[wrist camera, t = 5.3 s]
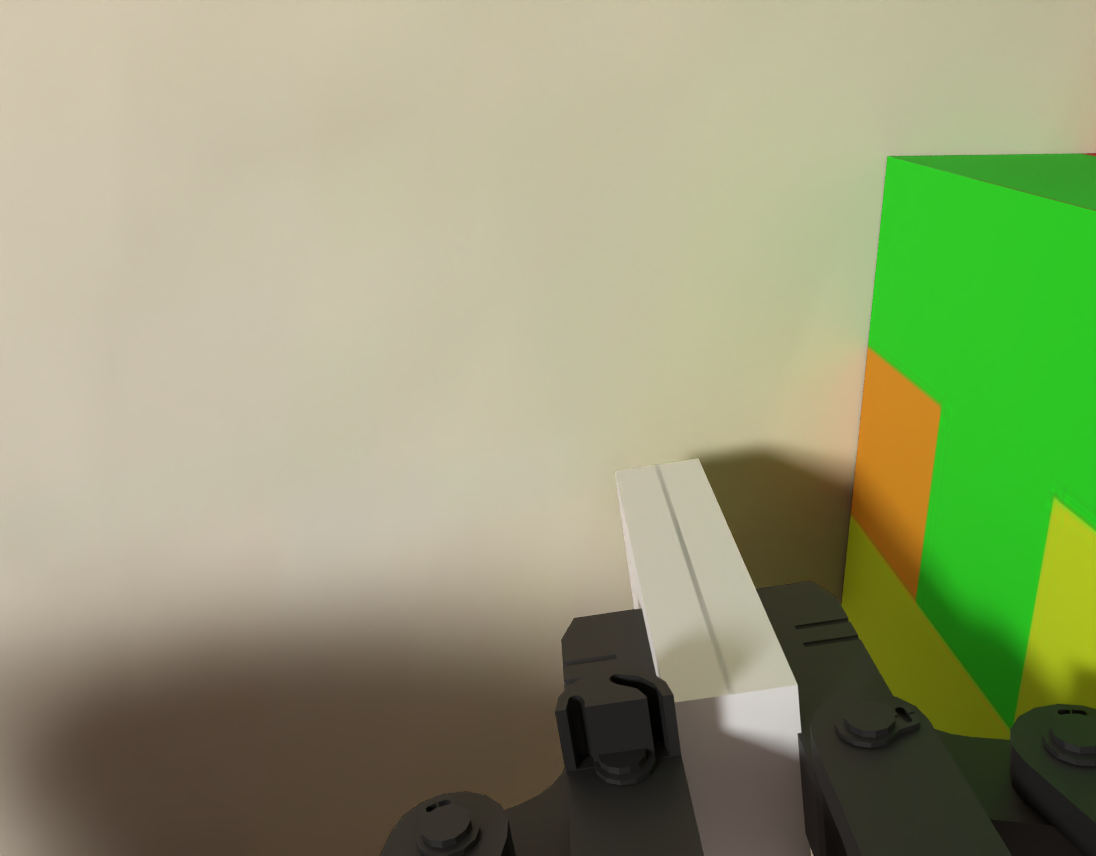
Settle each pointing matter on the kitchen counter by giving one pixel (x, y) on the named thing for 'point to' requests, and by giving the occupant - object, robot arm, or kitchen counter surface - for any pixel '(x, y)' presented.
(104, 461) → the kitchen counter surface
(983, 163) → the puzzle toy
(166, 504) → the kitchen counter surface
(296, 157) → the kitchen counter surface
